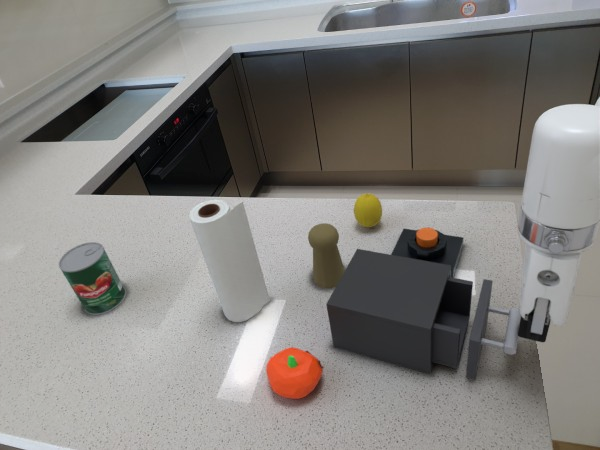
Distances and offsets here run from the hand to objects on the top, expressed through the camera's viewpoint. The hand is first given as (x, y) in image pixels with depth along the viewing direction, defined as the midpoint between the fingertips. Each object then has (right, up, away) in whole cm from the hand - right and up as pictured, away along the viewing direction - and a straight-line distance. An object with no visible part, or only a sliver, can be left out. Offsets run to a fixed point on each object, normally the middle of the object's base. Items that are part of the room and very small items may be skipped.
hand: (531, 335), depth 60 cm
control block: (-7, +9, +24) cm, 26 cm away
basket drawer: (-8, -2, +7) cm, 11 cm away
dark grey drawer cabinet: (-16, -2, +12) cm, 20 cm away
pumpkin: (-31, -9, +7) cm, 33 cm away
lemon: (-16, +14, +34) cm, 40 cm away
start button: (-8, +11, +21) cm, 26 cm away
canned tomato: (-67, 0, +28) cm, 73 cm away
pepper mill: (-25, +5, +23) cm, 34 cm away
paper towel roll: (-40, -1, +20) cm, 44 cm away
